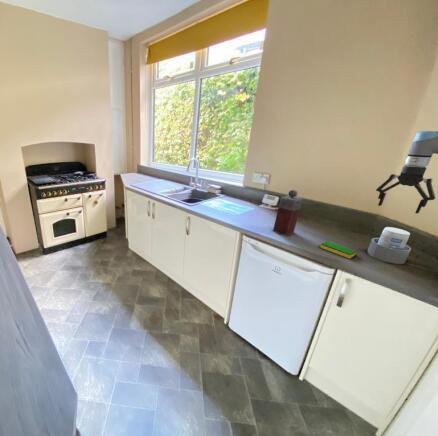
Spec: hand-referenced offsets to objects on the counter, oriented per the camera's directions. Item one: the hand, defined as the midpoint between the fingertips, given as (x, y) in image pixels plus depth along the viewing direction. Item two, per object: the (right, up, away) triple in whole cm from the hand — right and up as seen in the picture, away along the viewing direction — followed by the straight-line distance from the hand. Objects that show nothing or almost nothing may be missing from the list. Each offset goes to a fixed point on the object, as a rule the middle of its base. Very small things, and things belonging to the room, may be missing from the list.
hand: (397, 209), depth 117 cm
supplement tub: (0, -25, +6) cm, 25 cm away
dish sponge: (-22, -23, +11) cm, 33 cm away
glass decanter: (-37, -14, +35) cm, 52 cm away
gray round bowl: (0, -25, +6) cm, 26 cm away
